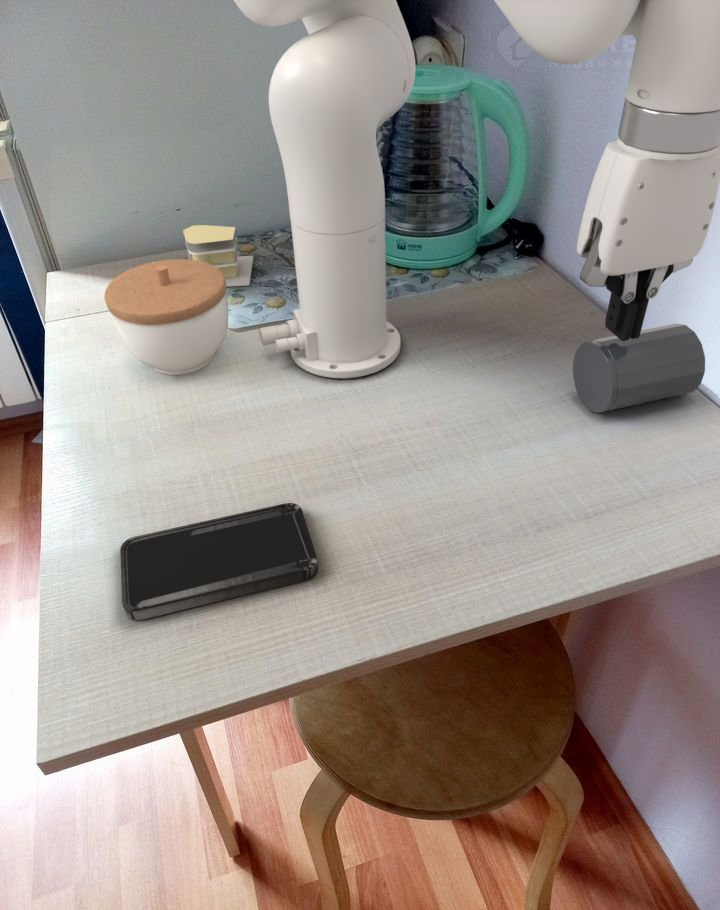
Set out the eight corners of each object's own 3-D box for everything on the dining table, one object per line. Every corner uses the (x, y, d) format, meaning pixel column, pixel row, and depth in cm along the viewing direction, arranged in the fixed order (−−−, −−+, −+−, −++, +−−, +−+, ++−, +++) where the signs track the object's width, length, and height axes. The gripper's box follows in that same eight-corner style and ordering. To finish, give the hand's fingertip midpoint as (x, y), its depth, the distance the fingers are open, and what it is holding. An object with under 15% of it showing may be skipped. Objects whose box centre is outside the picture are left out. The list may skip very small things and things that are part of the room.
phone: (319, 567, 55) (122, 614, 52) (320, 576, 56) (126, 623, 53) (298, 499, 61) (119, 538, 58) (299, 508, 61) (123, 547, 59)
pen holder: (618, 366, 64) (713, 346, 66) (579, 328, 69) (668, 311, 71) (603, 426, 69) (693, 406, 70) (568, 387, 74) (652, 369, 76)
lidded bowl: (119, 343, 83) (92, 255, 76) (223, 320, 87) (207, 233, 80) (134, 401, 74) (106, 307, 67) (250, 372, 78) (234, 280, 71)
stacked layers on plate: (253, 255, 100) (248, 218, 96) (249, 285, 93) (243, 246, 90) (183, 259, 100) (174, 222, 96) (173, 289, 93) (164, 250, 90)
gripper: (719, 101, 59) (664, 300, 71) (559, 124, 55) (530, 328, 68) (787, 126, 53) (715, 337, 65) (614, 154, 50) (572, 369, 62)
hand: (621, 332), depth 66 cm, fingers closed
